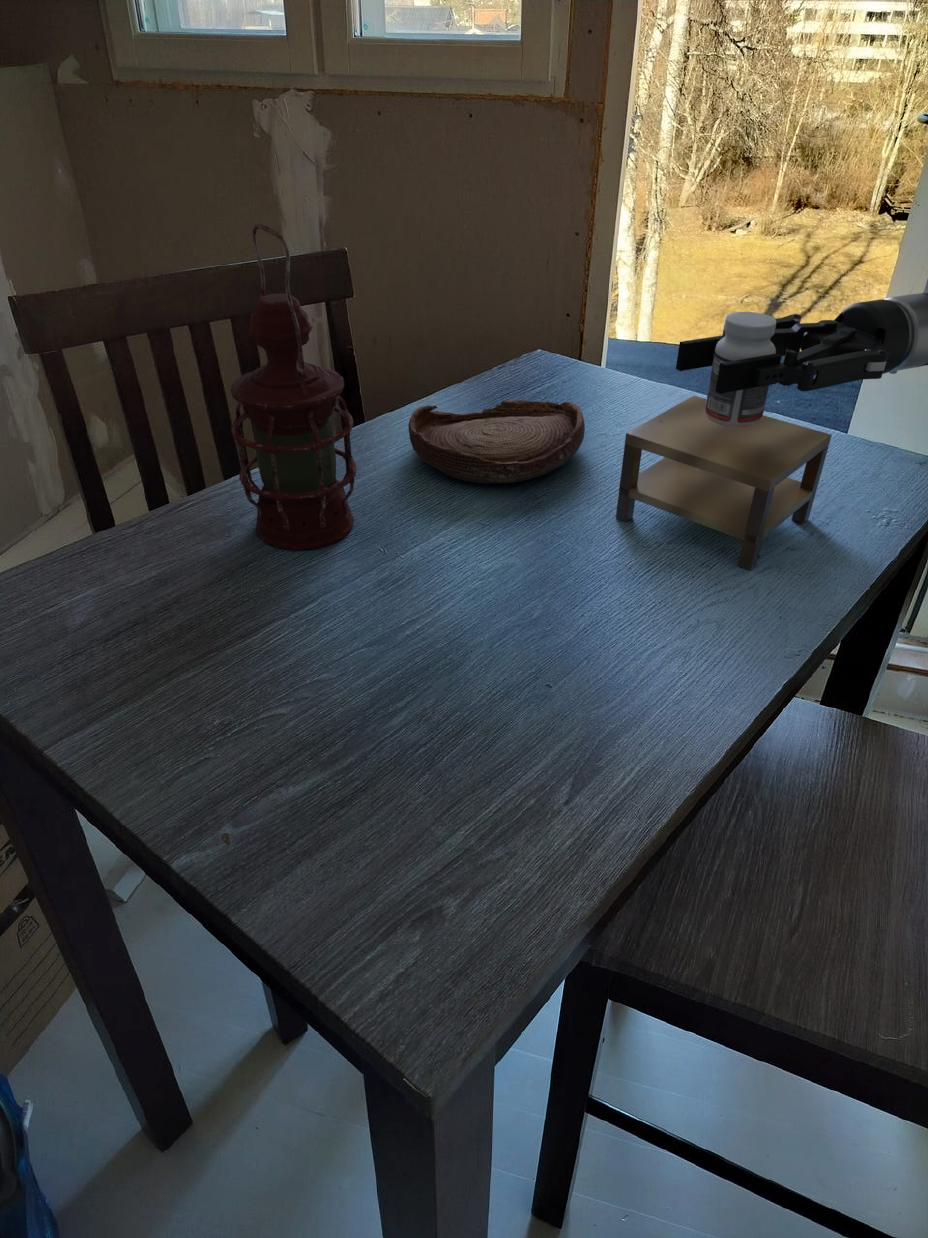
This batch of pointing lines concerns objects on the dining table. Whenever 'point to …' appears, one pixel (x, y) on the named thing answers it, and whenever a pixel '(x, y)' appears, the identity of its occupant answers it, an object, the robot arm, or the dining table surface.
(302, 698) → the dining table surface
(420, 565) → the dining table surface
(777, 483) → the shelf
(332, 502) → the lantern
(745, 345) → the pill bottle
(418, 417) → the basket
